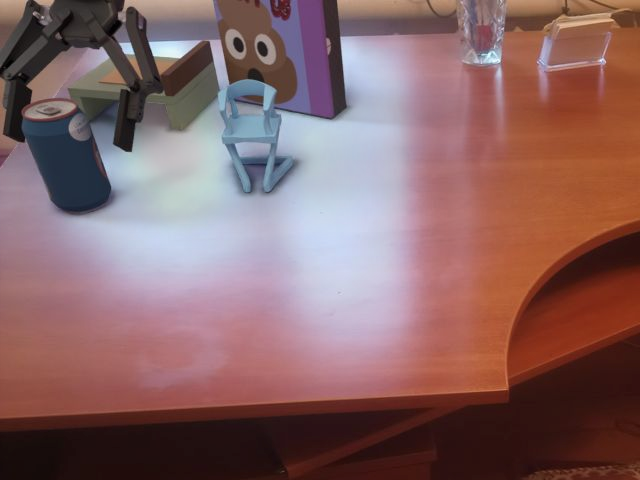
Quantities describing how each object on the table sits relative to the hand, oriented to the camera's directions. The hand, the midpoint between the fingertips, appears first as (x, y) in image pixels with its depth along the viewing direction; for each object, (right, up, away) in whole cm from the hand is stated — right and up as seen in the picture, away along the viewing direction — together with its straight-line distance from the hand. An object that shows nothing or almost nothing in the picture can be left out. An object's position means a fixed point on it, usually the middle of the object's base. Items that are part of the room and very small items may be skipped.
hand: (67, 143), depth 85 cm
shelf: (-1, +13, +26) cm, 29 cm away
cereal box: (+19, +14, +28) cm, 36 cm away
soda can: (0, -6, +5) cm, 8 cm away
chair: (+20, -2, +10) cm, 22 cm away
